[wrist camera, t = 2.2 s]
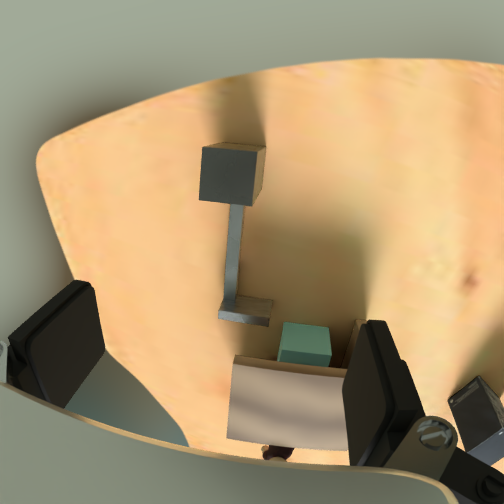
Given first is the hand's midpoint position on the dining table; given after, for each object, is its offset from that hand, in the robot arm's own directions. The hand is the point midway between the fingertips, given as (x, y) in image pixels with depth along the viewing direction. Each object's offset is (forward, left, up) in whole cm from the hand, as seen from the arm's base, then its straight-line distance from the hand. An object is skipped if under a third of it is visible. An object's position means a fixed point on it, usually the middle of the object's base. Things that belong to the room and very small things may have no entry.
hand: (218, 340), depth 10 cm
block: (+16, +6, -22) cm, 27 cm away
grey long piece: (+3, -2, -22) cm, 22 cm away
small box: (+25, +35, -22) cm, 48 cm away
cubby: (+17, +6, -22) cm, 28 cm away
